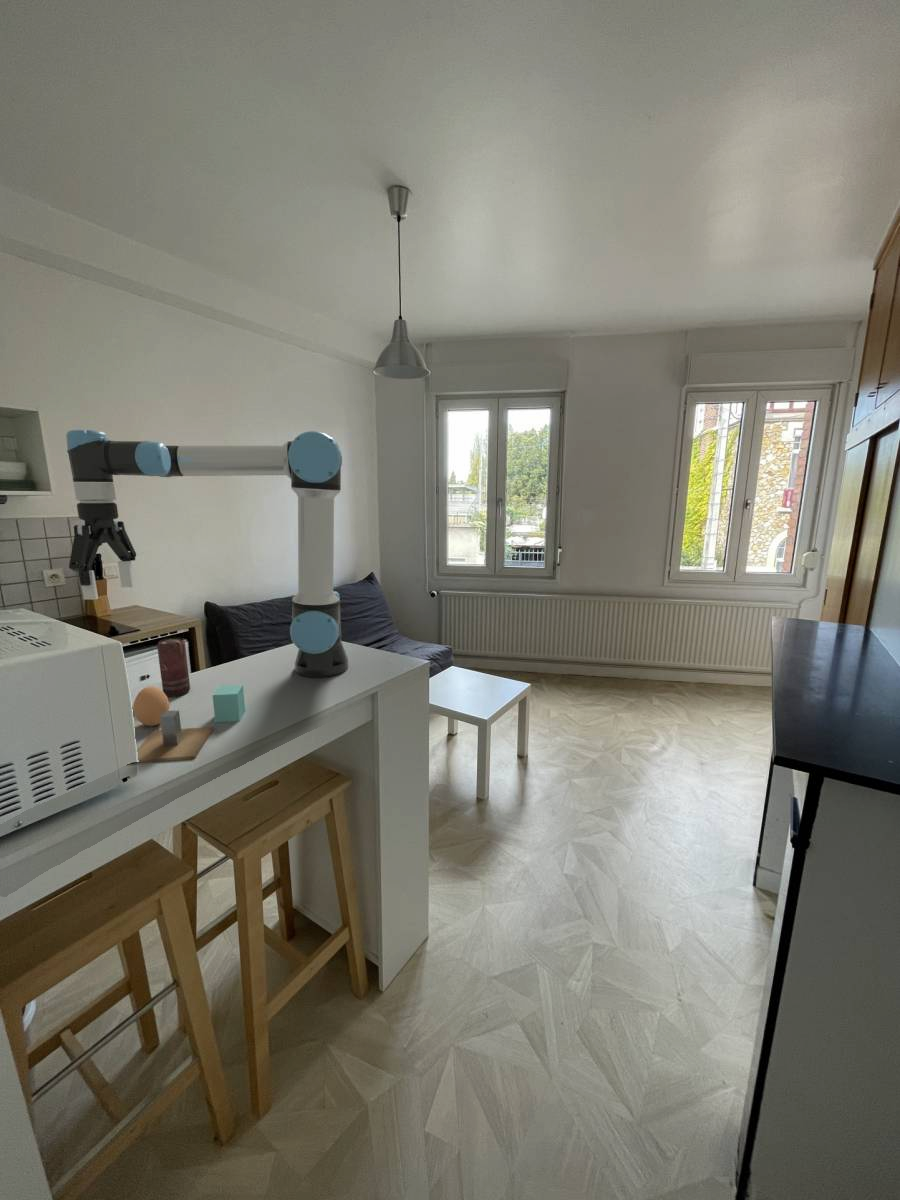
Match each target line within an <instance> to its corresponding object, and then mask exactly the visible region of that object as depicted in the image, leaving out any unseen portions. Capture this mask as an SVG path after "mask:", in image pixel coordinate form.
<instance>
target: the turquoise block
mask: <svg viewBox="0 0 900 1200" xmlns="http://www.w3.org/2000/svg"><path fill="white" fill-rule="evenodd" d="M244 693H245V691H244V684H234V685H233V684H231V685H230V684H229V685H219V686H218V687H217V688H216V690H215V691H214V693H213V694H212V704H213V713H214V722H215V723H229V722H240V721H241V719H242V718H243V716H244V714H245V712H246V705H245V694H244Z"/></svg>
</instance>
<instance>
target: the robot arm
mask: <svg viewBox="0 0 900 1200" xmlns="http://www.w3.org/2000/svg"><path fill="white" fill-rule="evenodd" d="M66 445H67V446H66V448H67V450H66V452H67V455H68V460H69V465H70V471H71V475H72V484H73V487H74V494H75V495H74V496H75V500H77V501H79V502H77V504H76V511H77V515H78V519H79V520H81V521H84V524H77V525H76V524H75V525H74V526H73V533H74V537H73V543H72V548H71V552H70V558H69V564H68V568H69V569H70V570H72V571H73V572H78V578H79V584H80V586H81V590H82V598H83V600H87V601H88V600H96V601H97V600H98V599H99V595H98V590H97V589H98V588H97V582H96V575H95V571H94V570H93V569H92V567H93V563H94V561H95V558H96V555H97V553H98V549H99V547H100V546H102V545H103V544H106V543H107V545H108V546H109V547H110V549H111V550H112V551H113V552H114V554H115V556H117V558H118V559H119V560H118V561H117V566H118V571H119V572H118V573H119V580H120V585H121V588H134V587H135V582H134V576H133V574H134V573H133V566H132V561H136V557H137V552H136V550H135V548H134V546H133V544H132V542H131V539H130V537H129V535H128V533H127V531H126V529H125V528H126V526H125V522H124V521H122V520H121V521H118V520H117V521H115V520H116V519H118V518H119V510H118V505H117V502H114V501H116V500H117V495H116V490H115V484H114V476H135V477H136V476H142V477H143V476H144V477H160V478H171V477H227V476H228V477H229V476H230V477H231V476H234V477H235V476H240V477H241V476H247V477H248V476H286V477H287V478H288V479H290V482H291V484H290V485H291V486H290V487H291V488H290V489H291V490H292V491H293V492H294V493H295V495H296V496H297V543H298V544H297V547H298V548H297V549H298V550H297V553H298V554H297V556H298V557H297V558H298V564H297V565H298V569H297V570H298V571H297V573H298V575H297V576H298V577H297V578H298V579H297V581H298V582H297V583H298V586H297V589H298V590H297V591H298V592H297V593H296V594H295V595H294V596H293V597H292V598H291V599H292V600H291V601H292V602H291V605H292V607H291V609H292V610H291V612H292V616H291V617H292V618H291V619H292V621H291V623H290V627H289V633H290V639H291V641H292V642H293V644H294V646H295V647H297V648H298V650H297V654H296V658H295V661H294V671H295V673H297V674H298V675H300V676H303V677H309V678H324V677H331V676H336V675H339V674H341V673H344V672H345V671H347V670H348V669H349V658H348V655H347V653H346V650H345V648H344V645H343V641H342V628H341V625H342V621H341V599H340V598H341V597H340V593H339V592H338V591H335V590H334V561H335V559H334V555H335V553H334V552H335V551H334V549H335V548H334V547H335V545H334V542H335V538H334V537H335V498H336V496H338V494H340V493H341V486H342V485H341V483H342V481H341V479H342V473H341V472H342V465H343V455H342V452H341V449H340V446H339V444H338V442H336V440H335V439H334V438H333V437H332V436H331V435H330V434H327V433H325V432H323V431H317V430H309V431H304V432H302V433H300V434H299V435H297V436H296V437H295V438H294V439H293V441H292V440H290V441H289V440H287V441H285V443H284V444H282V445H280V444H279V445H274V444H273V445H267V444H265V445H263V444H261V445H260V444H259V445H258V444H257V445H254V444H253V445H165V444H164V442H163V443H162V442H159V441H151V440H144V441H142V440H141V441H140V440H139V441H135V440H133V441H130V440H122V441H121V440H120V441H119V440H118V441H117V440H109V438H108V436H107V433H105V432H104V431H100V430H91V429H89V430H86V429H71V430H69V431H67V432H66ZM91 569H92V570H91Z"/></svg>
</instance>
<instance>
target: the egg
mask: <svg viewBox="0 0 900 1200" xmlns="http://www.w3.org/2000/svg"><path fill="white" fill-rule="evenodd" d="M168 698H169V697H168V696H166V695H165V693H164V692H163V689H161V688H159V687H158V686H154V685H153V686H151V685H150V686H146V687H144V688H142V689H140V691H139V692H138V693H137V695H136V697H135V699H134V702H133V714H134V717H135V718H136V720H137V721H138V722H139V723H141V724H142V725H144V726H147V727H148V726H150V727H154V726H157V725H159V724H161V721H160V717H161V715H162V714H163V713H164V712H165V711H170V700H169V699H168Z"/></svg>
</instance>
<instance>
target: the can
mask: <svg viewBox="0 0 900 1200" xmlns="http://www.w3.org/2000/svg"><path fill="white" fill-rule="evenodd" d="M156 646H157V655H158V662H159V663H158V664H159V672H160V678H161V686H162V687H161V688H162V691H163V692H164V693H165V695H166V696H167V698H169V697H170V698H173V697H174V698H175V697H176V698H177V697H181V696H183V695H186V694H187V693H189V692H190V690H191V683H190V674H189V673H190V672H189V667H188V657H187V648H186V642H185V641H184V638H182V637H169V638H168V637H167V638H164V639H161V640H159V641H158V644H157V645H156Z"/></svg>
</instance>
